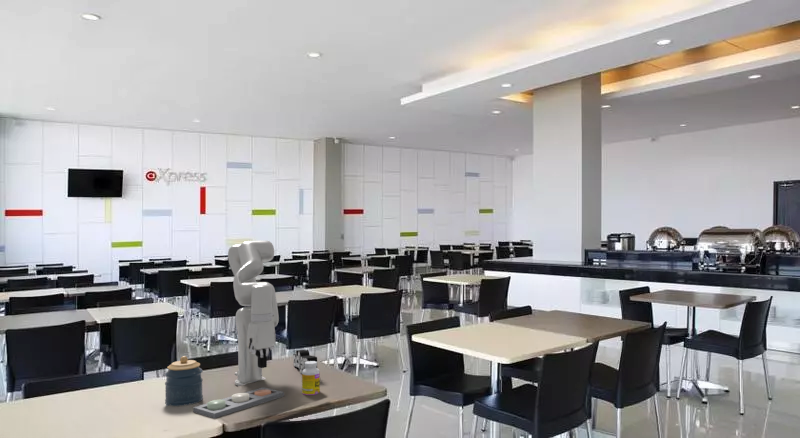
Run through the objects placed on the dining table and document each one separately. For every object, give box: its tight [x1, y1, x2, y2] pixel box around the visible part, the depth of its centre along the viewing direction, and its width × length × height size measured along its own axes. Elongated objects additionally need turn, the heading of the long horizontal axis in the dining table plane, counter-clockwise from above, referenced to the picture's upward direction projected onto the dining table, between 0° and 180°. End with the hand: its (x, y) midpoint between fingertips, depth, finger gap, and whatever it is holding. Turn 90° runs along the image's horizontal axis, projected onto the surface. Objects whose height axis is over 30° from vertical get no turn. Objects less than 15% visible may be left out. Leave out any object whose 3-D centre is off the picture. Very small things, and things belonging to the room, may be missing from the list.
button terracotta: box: [254, 389, 271, 397], centre depth 208 cm, size 6×6×3 cm
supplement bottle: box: [301, 361, 321, 396], centre depth 213 cm, size 7×7×13 cm
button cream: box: [231, 392, 249, 403], centre depth 200 cm, size 6×6×3 cm
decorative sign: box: [292, 349, 318, 375], centre depth 250 cm, size 32×4×10 cm, turn 22°
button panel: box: [192, 387, 285, 419], centre depth 200 cm, size 30×12×3 cm, turn 143°
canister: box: [164, 355, 204, 407], centre depth 206 cm, size 13×13×18 cm
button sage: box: [206, 399, 226, 411], centre depth 192 cm, size 6×6×3 cm
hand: (262, 367), depth 209 cm, fingers closed
